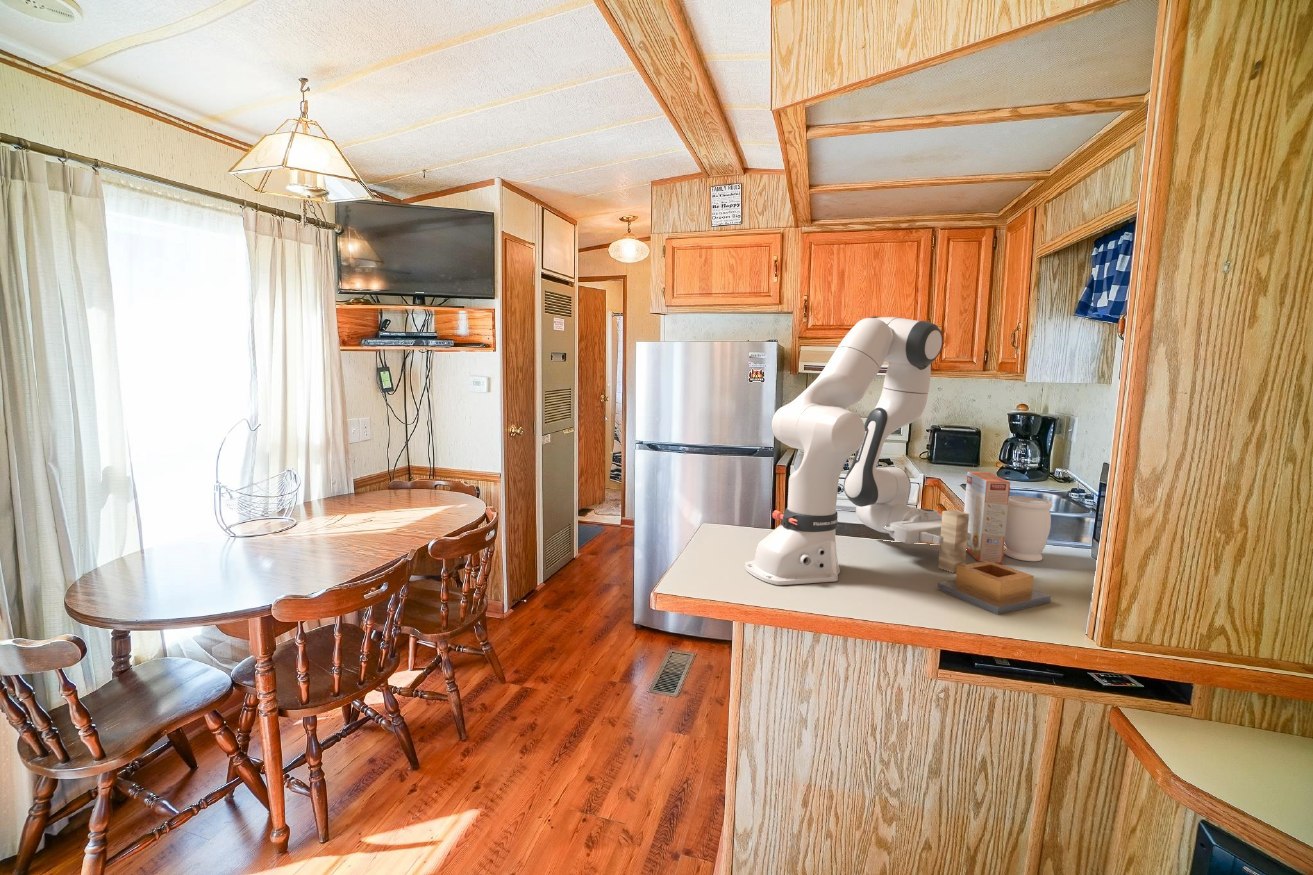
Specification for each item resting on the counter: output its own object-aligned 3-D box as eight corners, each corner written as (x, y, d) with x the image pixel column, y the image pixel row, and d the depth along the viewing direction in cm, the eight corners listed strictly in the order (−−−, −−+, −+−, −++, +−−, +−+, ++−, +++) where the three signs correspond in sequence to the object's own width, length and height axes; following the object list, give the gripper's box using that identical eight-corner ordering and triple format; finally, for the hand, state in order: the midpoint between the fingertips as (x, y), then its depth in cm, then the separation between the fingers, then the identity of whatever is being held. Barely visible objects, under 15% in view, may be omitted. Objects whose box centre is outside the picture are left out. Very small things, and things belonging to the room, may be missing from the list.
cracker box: (1004, 564, 142) (1012, 481, 139) (977, 562, 143) (984, 480, 141) (984, 547, 156) (990, 471, 153) (960, 545, 157) (966, 470, 154)
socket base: (997, 614, 112) (1000, 587, 112) (937, 589, 125) (939, 564, 124) (1050, 602, 119) (1052, 577, 118) (987, 579, 131) (989, 556, 131)
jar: (994, 548, 155) (999, 494, 153) (1038, 552, 152) (1044, 497, 150) (1006, 560, 145) (1011, 502, 143) (1053, 565, 142) (1059, 506, 140)
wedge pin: (952, 573, 135) (957, 515, 134) (938, 567, 139) (942, 511, 137) (964, 570, 137) (969, 513, 135) (949, 565, 141) (954, 509, 139)
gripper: (879, 515, 145) (924, 529, 132) (937, 508, 153) (985, 521, 140) (877, 539, 145) (922, 556, 133) (936, 532, 154) (983, 546, 141)
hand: (955, 538), depth 137 cm, fingers open, 8 cm apart
